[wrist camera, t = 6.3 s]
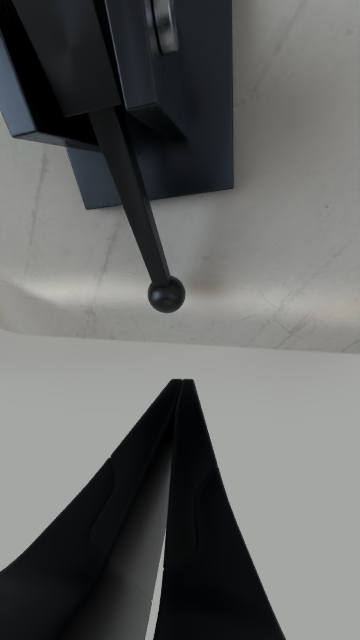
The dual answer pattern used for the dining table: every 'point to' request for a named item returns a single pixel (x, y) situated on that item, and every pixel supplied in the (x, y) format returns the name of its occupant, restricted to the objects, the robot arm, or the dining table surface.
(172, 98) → the lever base
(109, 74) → the lever with ball knob
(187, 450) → the robot arm
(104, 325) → the dining table surface
